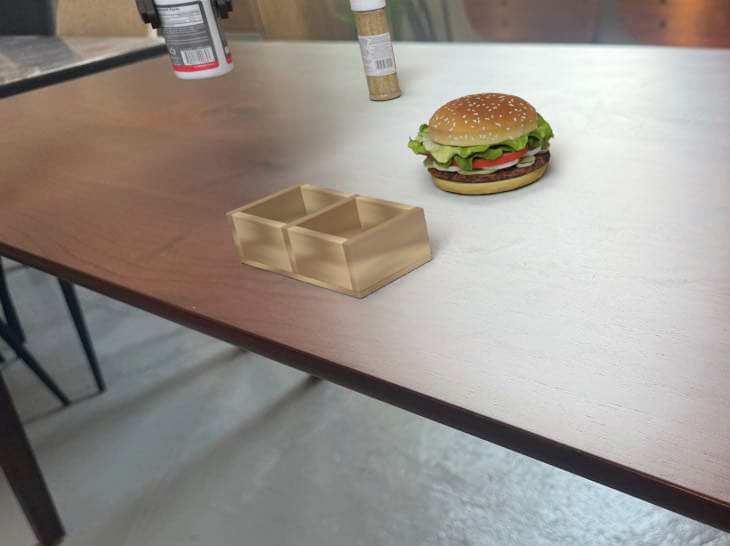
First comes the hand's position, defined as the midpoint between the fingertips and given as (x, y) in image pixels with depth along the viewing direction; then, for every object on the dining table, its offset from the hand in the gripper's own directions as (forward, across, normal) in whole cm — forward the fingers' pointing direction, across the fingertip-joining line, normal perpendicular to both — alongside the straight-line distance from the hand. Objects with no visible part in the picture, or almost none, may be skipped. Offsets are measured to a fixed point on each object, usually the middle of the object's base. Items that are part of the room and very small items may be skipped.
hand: (189, 17), depth 77 cm
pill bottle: (+3, 0, +5) cm, 6 cm away
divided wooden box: (+26, +6, -1) cm, 27 cm away
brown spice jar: (-12, +23, +38) cm, 45 cm away
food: (+18, +24, +8) cm, 30 cm away
